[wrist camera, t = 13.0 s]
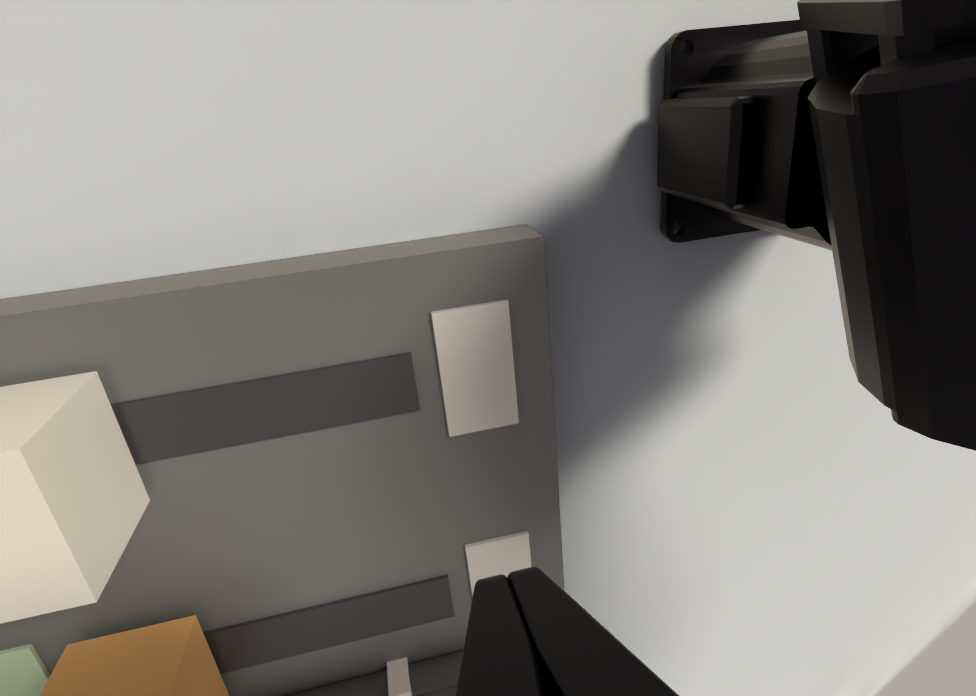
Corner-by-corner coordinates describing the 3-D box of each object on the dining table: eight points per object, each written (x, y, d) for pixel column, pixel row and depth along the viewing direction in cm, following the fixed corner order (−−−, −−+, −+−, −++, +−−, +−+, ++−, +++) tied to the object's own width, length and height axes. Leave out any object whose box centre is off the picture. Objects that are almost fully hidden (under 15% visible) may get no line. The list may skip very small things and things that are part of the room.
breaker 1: (96, 371, 16) (19, 449, 12) (150, 500, 17) (96, 602, 14) (-68, 397, 15) (-201, 489, 11) (5, 529, 17) (-91, 643, 13)
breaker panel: (526, 224, 19) (545, 237, 17) (553, 614, 26) (569, 655, 24) (-246, 334, 16) (-331, 366, 14) (28, 747, 23) (-2, 807, 21)
